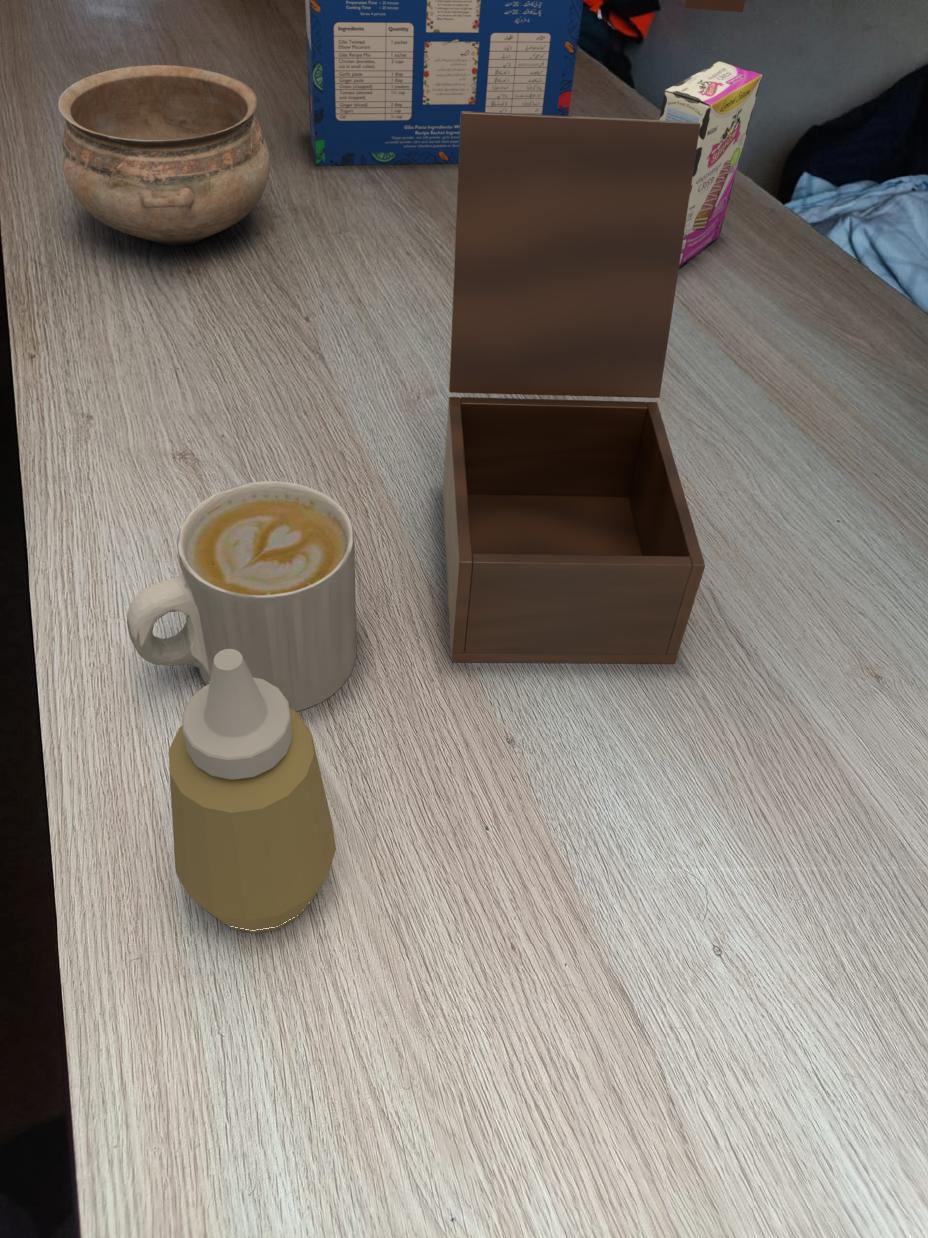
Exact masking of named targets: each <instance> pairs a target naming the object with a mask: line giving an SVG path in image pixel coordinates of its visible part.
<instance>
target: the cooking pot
mask: <svg viewBox="0 0 928 1238" xmlns="http://www.w3.org/2000/svg"><path fill="white" fill-rule="evenodd" d="M57 105H58V111H59V112H60V114H61V116H62V117H63V118H64V119H65V122H64V126H63V132H62V138H61V152H60V155H61V156H60V157H61V165H62V172H63V177H64V179H65V181H66V183H67V185H68V187H69V189H70V190H71V192H72V194H73V195H74V197H75V199H76V200H77V202H78V203H79V204H80V205H81V206H82V207H83V208H84V209H85V210H86V211H87V212H88V213H89V214H90V215H91V216H92V217H94V218H95V219H96V220H98V221H100V222H102V223H103V224H105V225H106V226H108V227H110V228H112V229H114V230H116V231H119V232H121V233H124V234H126V235H130V236H132V237H134V238H135V237H136V238H138V239H143V240H147V241H149V242H152V243H155V244H157V245H158V244H159V245H162V246H170V247H173V246H175V247H179V246H188V245H192V244H196V243H200V242H202V241H203V240H205V239H207V238H209V237H211V236H213V235H216V234H218V233H220V232H222V231H224V230H226V229H228V228H230V227H232V226H234V225H235V224H237V223H238V222H240V221H242V219H244V218H245V217H246V216H248V215H249V214H250V213H251V212H252V210H253V209H254V208H255V207H256V206H257V204H258V203H259V202H260V200H261V198H262V196H263V193H264V191H265V188H266V186H267V184H268V180H269V177H270V152H269V148H268V145H267V142H266V139H265V136H264V133H263V131H262V129H261V126H260V123H259V122H258V119H257V118H256V115H255V112H256V111H257V108H258V97H257V96H256V93H255V92H254V91H253V89H251V87H250V86H249V85H248V84H246V83H244V82H243V81H242V80H239V79H237V78H235V77H233V76H231V75H228V74H225V73H221V72H219V71H214V70H210V69H205V68H201V67H200V68H199V67H192V66H187V65H186V66H184V65H172V64H171V65H169V64H168V65H167V64H151V65H137V66H126V67H120V68H115V69H109V70H105V71H102V72H97V73H95V74H92V75H89V76H87V77H84V78H82V79H79V80H78V81H76V82H74V83H72V84H71V85H70V86H68V87H67V88H66V89H65V90H64V91H63V92H62V93H61V94H60V96H59V98H58V101H57Z"/></svg>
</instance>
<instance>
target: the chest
mask: <svg viewBox="0 0 928 1238" xmlns="http://www.w3.org/2000/svg"><path fill="white" fill-rule="evenodd" d="M447 404H448V405H447V418H446V419H447V420H446V434H445V435H446V436H445V437H446V438H445V452H444V467H443V483H442V484H443V485H442V487H443V488H442V508H443V509H442V511H443V529H444V530H443V532H444V548H445V549H444V550H445V567H446V587H447V605H448V625H449V627H448V628H449V645H450V647H449V648H450V661H451V663H515V664H516V663H520V664H521V663H522V664H524V663H525V664H527V663H528V664H529V663H531V664H532V663H534V664H538V663H539V664H541V663H542V664H544V663H545V664H561V663H562V664H566V663H567V664H676V661H677V659H678V655H679V652H680V648H681V645H682V642H683V639H684V634H685V632H686V630H687V629H686V628H687V626H688V623H689V619H690V617H691V613H692V610H693V606H694V603H695V600H696V597H697V593H698V590H699V587H700V584H701V581H702V578H703V574H704V572H705V568H706V564H705V560H704V556H703V553H702V550H701V546H700V543H699V539H698V536H697V532H696V529H695V526H694V523H693V519H692V516H691V512H690V509H689V506H688V502H687V498H686V494H685V491H684V487H683V485H682V481H681V478H680V474H679V471H678V468H677V464H676V462H675V457H674V454H673V451H672V447H671V445H670V441H669V438H668V434H667V431H666V427H665V424H664V421H663V417H662V414H661V410H660V407H659V406H660V405H659V404H658V402H657V401H636V400H635V401H633V400H632V401H631V400H630V401H629V400H628V401H627V400H597V399H596V400H594V399H590V400H589V399H557V398H556V399H555V398H554V399H552V398H551V399H550V398H518V397H517V398H514V397H513V398H512V397H478V396H477V397H476V396H475V397H473V396H472V397H470V396H461V397H460V396H449V397H448V403H447Z"/></svg>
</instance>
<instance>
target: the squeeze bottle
mask: <svg viewBox="0 0 928 1238" xmlns="http://www.w3.org/2000/svg"><path fill="white" fill-rule="evenodd" d="M181 717H182V718H181V719H182V720H181V721H182V725H181V726H180V727H179V728H178V730H177V732H176V734H175V736H174V738H173V740H172V742H171V744H170V747H169V748H168V766H169V768H168V770H169V785H170V788H169V789H170V802H171V819H172V835H173V836H172V837H173V850H174V868H175V874H176V876H177V878H178V879H179V881H180V883H181V885H182V887H183V888H184V890H185V892H186V894H187V896H188V898H190V899H191V900H192V901H193V902H195V903H196V904H197V905H199V906H200V907H201V908H203V909H204V910H205V911H207V912H208V913H210V915H212V916H213V917H215V918H216V917H217V918H216V919H217V920H219V919H220V920H219V921H220V922H222V923H223V924H225V925H226V926H228V925H229V926H228V927H229V928H230V929H232V930H235V931H240V932H245V933H249V934H250V933H251V934H259V933H264V932H271V931H278V930H279V929H281V928H283V927H284V926H286V925H288V924H290V923H291V922H293V921H295V920H297V919H298V918H299V917H300V916H301V915H302V913H303V912H304V911H305V910H306V909H307V908H308V906H309V905H310V904H311V903H312V901H313V900H314V898H315V896H316V895H317V893H318V892H319V890H320V889H321V887H322V886H323V884H324V883H325V881H326V879H327V878H328V877H329V873H330V870H331V867H332V864H333V861H334V857H335V854H336V851H337V846H336V845H337V844H336V839H335V832H334V826H333V820H332V815H331V812H330V806H329V803H328V798H327V794H326V790H325V786H324V781H323V777H322V772H321V768H320V765H319V760H318V756H317V752H316V747H315V743H314V739H313V735H312V734H313V733H312V731H311V730H310V728H309V727H308V726H307V724H306V722H305V721H304V720H303V718H302V717H301V715H300V714H299V713H298V712H297V711H296V712H295V711H293V710H291V709H290V708H289V702H288V701H287V699H286V698H285V696H284V695H283V694H282V692H281V691H280V689H279V688H277V687H275V686H274V685H272V684H270V683H268V682H267V681H265V680H263V679H258V678H253V677H252V675H251V673H250V671H249V669H248V667H247V665H246V663H245V660H244V658H243V656H242V655H241V653H240V652H238V651H237V650H234V649H224V650H222V651H220V652H218V653H217V654H216V655H215V657H214V660H213V666H212V672H211V678H210V684H208V685H206V684H205V685H204V686H203V687H201V688H200V689H199V690H198V691H197V692H196V693H195V694H193V695H192V696H191V698H189V699H188V702H187V704H186V706H185V708H184V711H183V713H182V715H181ZM309 902H310V903H309ZM308 903H309V904H308ZM303 909H304V910H303ZM302 910H303V911H302ZM297 915H298V916H297ZM293 917H295V918H293ZM292 918H293V919H292ZM289 919H291V920H289ZM288 920H289V921H288ZM286 921H287V922H286ZM284 922H286V923H284ZM283 923H284V924H283ZM281 924H282V925H281ZM279 925H280V926H279ZM230 926H234V927H230ZM276 926H278V927H276ZM235 927H238V928H235ZM269 927H275V928H269ZM240 928H244V929H240ZM263 928H269V929H263ZM245 929H249V930H245ZM256 929H263V930H256ZM250 930H256V931H250Z"/></svg>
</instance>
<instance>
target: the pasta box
mask: <svg viewBox="0 0 928 1238" xmlns="http://www.w3.org/2000/svg"><path fill="white" fill-rule="evenodd" d="M583 6H584V0H304V13H305V14H304V15H305V16H304V17H305V37H306V40H305V41H306V62H307V63H306V65H307V66H306V67H307V88H308V89H307V90H308V91H307V92H308V109H309V111H308V112H309V113H308V115H309V137H310V141H311V147H312V151H313V156H314V162H315V165H316V166H317V167H320V166H321V167H322V166H323V167H324V166H379V165H381V166H383V165H384V166H386V165H387V166H388V165H389V166H390V165H391V166H392V165H445V164H446V165H449V164H450V165H451V164H455V165H457V164H458V163H459V139H460V116H461V111H471V112H492V113H514V114H535V115H557V116H570V107H571V99H572V91H573V84H574V77H575V70H576V61H577V55H578V54H577V52H578V45H579V37H580V30H581V24H582V23H581V21H582V15H583Z"/></svg>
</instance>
